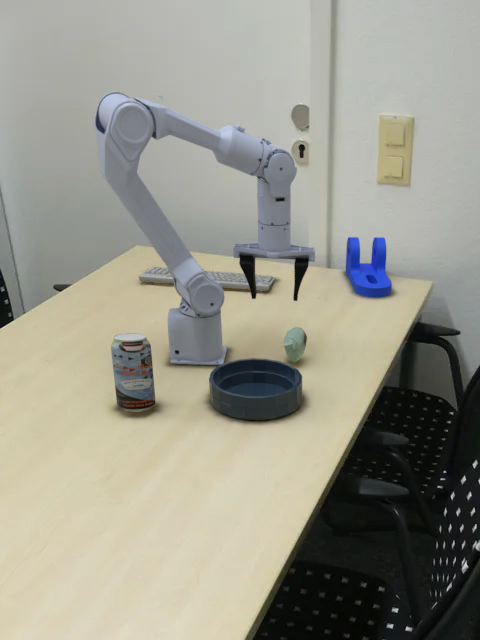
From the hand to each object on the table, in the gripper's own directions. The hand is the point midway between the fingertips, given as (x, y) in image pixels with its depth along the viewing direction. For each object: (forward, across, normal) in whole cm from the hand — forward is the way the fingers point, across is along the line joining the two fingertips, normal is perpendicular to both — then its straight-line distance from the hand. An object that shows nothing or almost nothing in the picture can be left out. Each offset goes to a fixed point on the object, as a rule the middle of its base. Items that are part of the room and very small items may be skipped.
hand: (274, 298), depth 144 cm
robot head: (+10, +4, -7) cm, 13 cm away
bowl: (+9, -2, -23) cm, 25 cm away
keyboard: (+10, -17, +36) cm, 41 cm away
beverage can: (+10, -21, -28) cm, 36 cm away
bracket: (+10, +20, +39) cm, 45 cm away
